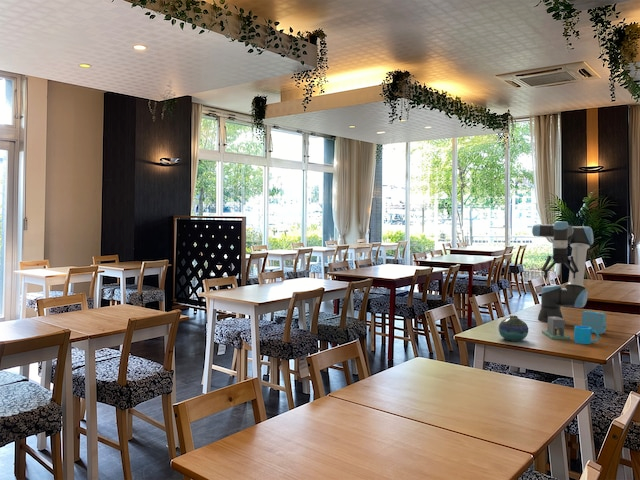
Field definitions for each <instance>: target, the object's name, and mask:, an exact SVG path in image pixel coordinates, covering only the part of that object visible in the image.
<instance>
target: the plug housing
mask: <svg viewBox="0 0 640 480" xmlns="http://www.w3.org/2000/svg"><path fill="white" fill-rule="evenodd" d="M565 321H566V320H565V319H564V318H563V319H562V318H560V317H548V322H547V330H546V331H547V332H548V333H550V334H551V335H553V336H555V328H557V329H558V330H559V334H560V335H562V336H564V334H565V327H566V325H565Z"/></svg>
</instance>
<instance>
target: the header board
mask: <svg viewBox="0 0 640 480" xmlns="http://www.w3.org/2000/svg"><path fill="white" fill-rule="evenodd" d="M541 334H543V335H545V336H546V337H548V338H549V339H550V340H571V337H570V336H568V335H567V334H565V333H564V336H562V335H560V334H559V330H558V329H557V328H555V336H553V335H551V334H550V333H548V332H547V330H541Z"/></svg>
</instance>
